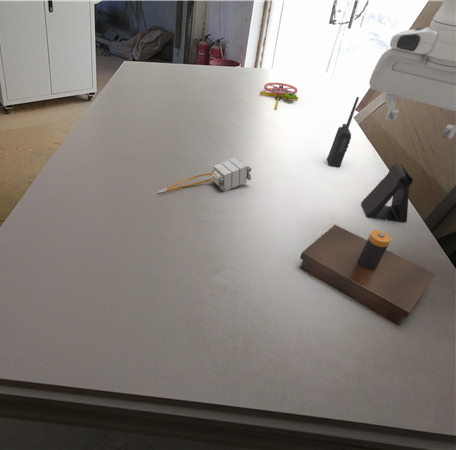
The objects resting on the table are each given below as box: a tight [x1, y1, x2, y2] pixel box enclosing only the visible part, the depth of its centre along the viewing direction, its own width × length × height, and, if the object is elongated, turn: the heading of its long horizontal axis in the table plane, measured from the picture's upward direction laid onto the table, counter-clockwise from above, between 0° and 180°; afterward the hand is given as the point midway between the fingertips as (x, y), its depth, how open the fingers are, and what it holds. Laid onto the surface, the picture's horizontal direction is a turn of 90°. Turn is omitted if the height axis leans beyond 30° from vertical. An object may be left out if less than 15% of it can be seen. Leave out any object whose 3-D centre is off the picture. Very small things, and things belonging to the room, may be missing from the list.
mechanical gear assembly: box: [259, 82, 299, 110], centre depth 160 cm, size 30×4×15 cm
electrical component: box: [157, 157, 253, 194], centre depth 101 cm, size 24×6×5 cm, turn 115°
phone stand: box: [360, 162, 414, 223], centre depth 94 cm, size 9×6×12 cm, turn 80°
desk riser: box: [299, 224, 437, 325], centre depth 78 cm, size 20×14×4 cm
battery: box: [358, 229, 392, 269], centre depth 74 cm, size 3×3×7 cm
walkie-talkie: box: [326, 96, 360, 168], centre depth 112 cm, size 5×3×20 cm
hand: (417, 128), depth 71 cm, fingers open, 8 cm apart
